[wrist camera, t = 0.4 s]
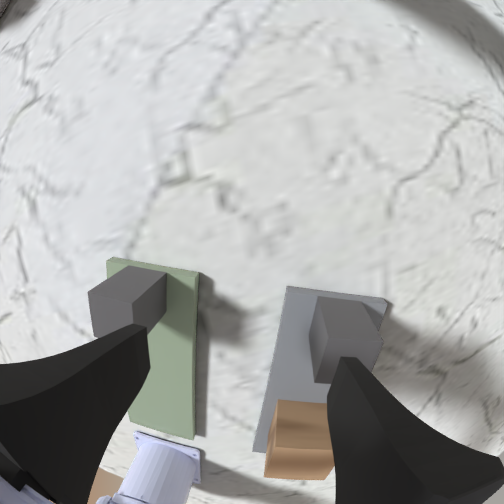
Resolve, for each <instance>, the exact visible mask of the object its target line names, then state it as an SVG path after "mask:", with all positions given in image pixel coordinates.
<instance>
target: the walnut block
mask: <svg viewBox="0 0 504 504" xmlns="http://www.w3.org/2000/svg"><path fill="white" fill-rule="evenodd" d="M334 466H335V464H334V457H333V451H332V445H331V438H330V432H329V426H328V419H327V403H313V402H301V401H290V400H281V399H278V401H277V404H276V408H275V412H274V415H273V419H272V422H271V426H270V429H269V433H268V440H267V451H266V461H265V471H264V477H267V478H278V479H294V480H325V478H326V477H327V476H328V474H329V473H330V471H331V470H332V469H333V467H334Z"/></svg>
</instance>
